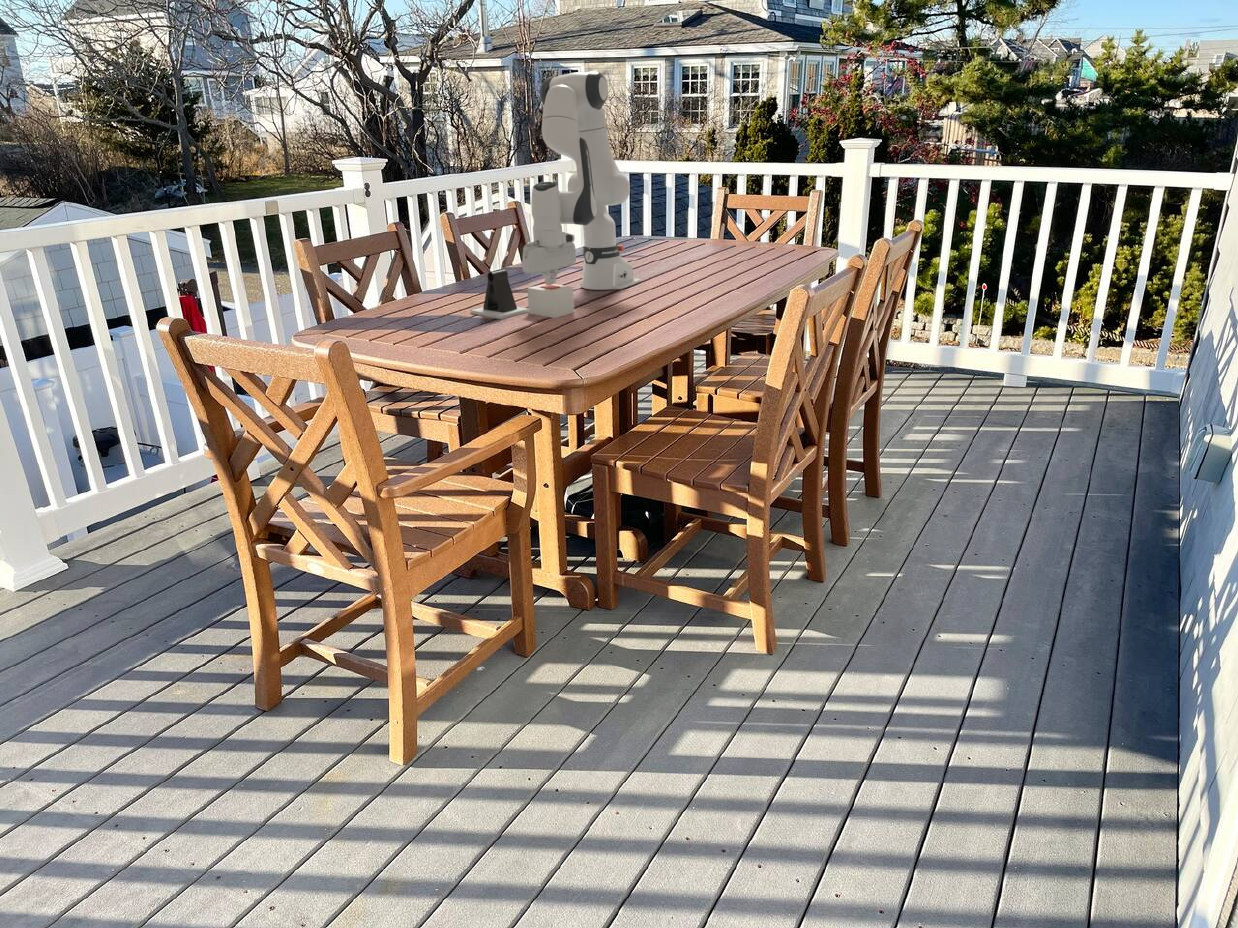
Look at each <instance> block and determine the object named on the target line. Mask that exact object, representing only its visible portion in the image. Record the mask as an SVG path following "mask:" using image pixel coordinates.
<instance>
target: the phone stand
mask: <svg viewBox="0 0 1238 928" xmlns="http://www.w3.org/2000/svg"><path fill="white" fill-rule="evenodd" d="M508 276H509V274H508V271H507V269H503V268H502V269H498V270H494V271H490V272H489V271H488V273H487V275H486V277H487V285H486V291H485V296H484V301H483V302H484V303H483V306H482V307H483V309H484V310H490V311H496V312H502V313H504V312H507V311H511V310H515V309H517V307H518V306H517V304H516V301H515V297H514V294H513V291H512V287H511V285H510V282H509V277H508Z"/></svg>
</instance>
